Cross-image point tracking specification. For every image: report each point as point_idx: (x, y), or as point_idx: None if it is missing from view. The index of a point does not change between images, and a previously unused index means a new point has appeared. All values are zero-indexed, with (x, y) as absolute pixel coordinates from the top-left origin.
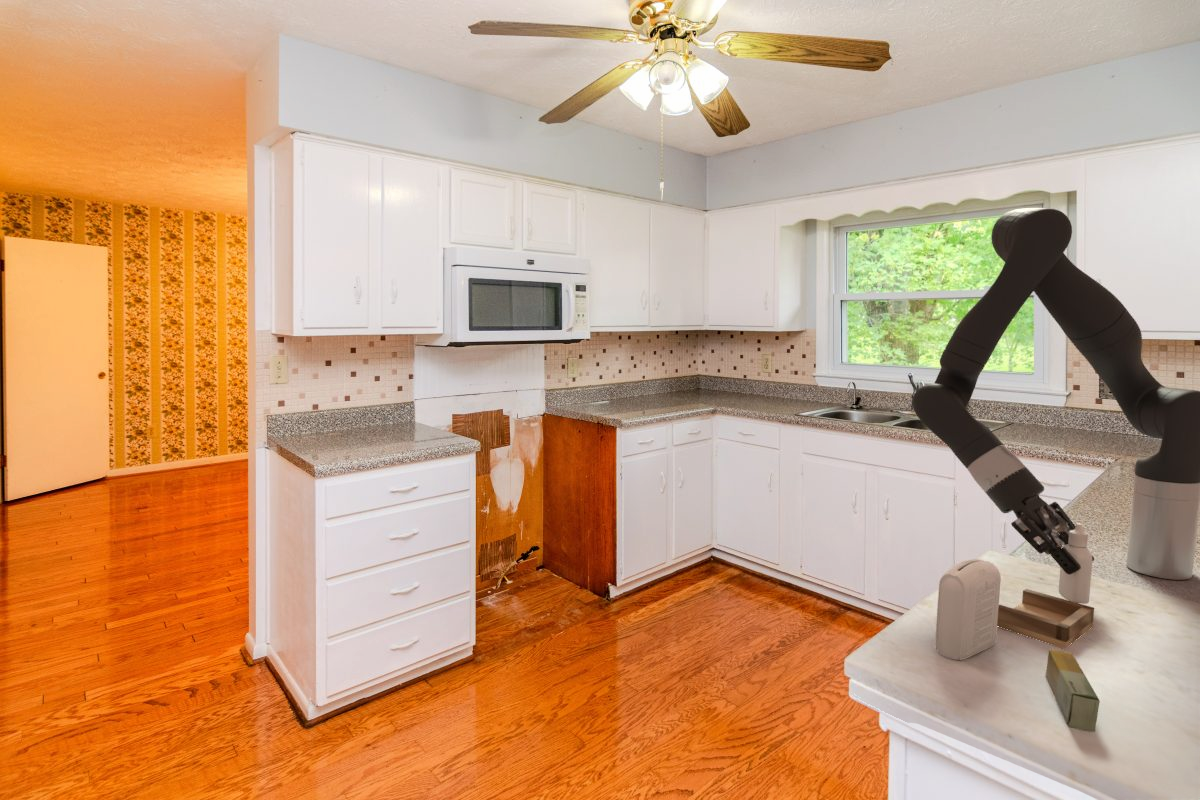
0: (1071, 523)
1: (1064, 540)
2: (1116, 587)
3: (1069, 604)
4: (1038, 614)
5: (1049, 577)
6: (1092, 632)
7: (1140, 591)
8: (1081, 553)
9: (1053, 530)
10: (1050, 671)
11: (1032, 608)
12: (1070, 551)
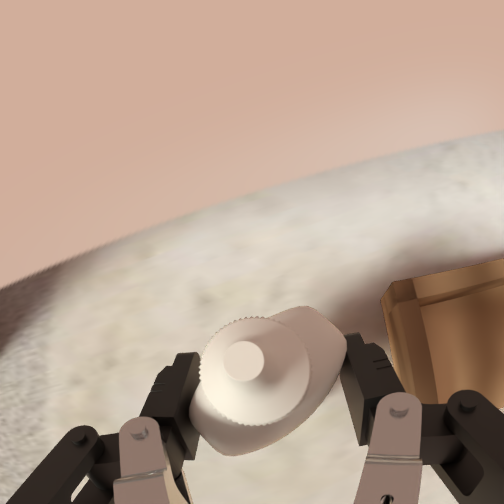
0: (59, 464)
1: (177, 468)
2: (72, 369)
3: (423, 326)
4: (461, 372)
5: None
6: None
7: (64, 330)
8: (325, 334)
9: (407, 461)
10: None
11: (440, 403)
12: (326, 385)
